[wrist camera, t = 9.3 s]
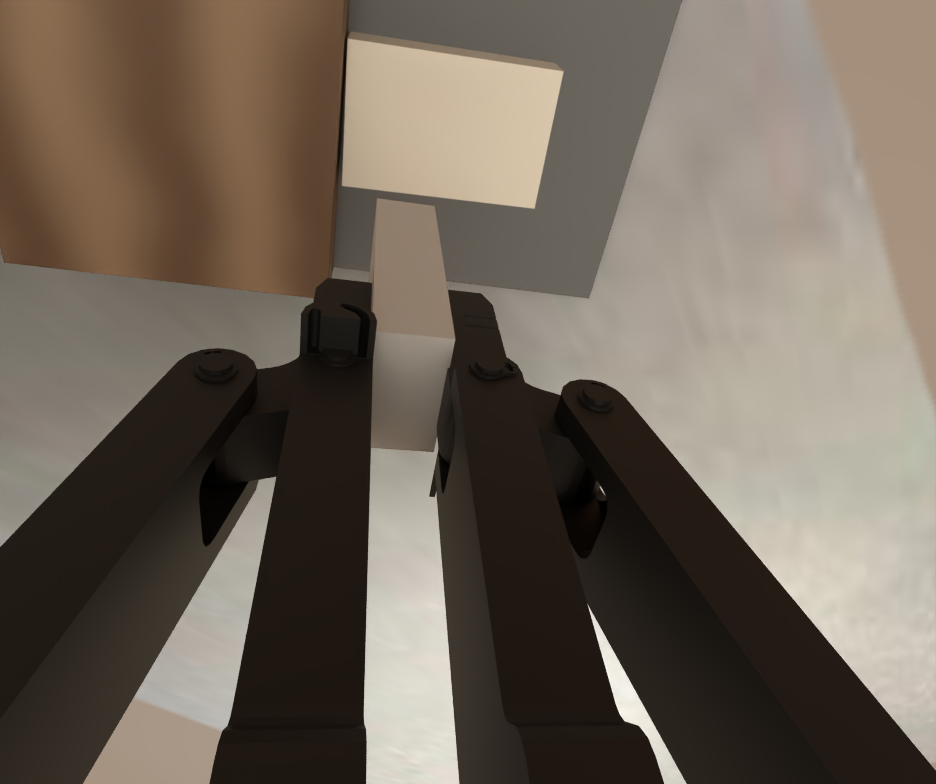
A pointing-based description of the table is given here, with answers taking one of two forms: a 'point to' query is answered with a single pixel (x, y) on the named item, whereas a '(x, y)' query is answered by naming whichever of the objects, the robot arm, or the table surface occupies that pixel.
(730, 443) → the table surface
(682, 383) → the table surface
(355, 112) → the tile
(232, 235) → the deck
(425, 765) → the table surface
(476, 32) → the mat
